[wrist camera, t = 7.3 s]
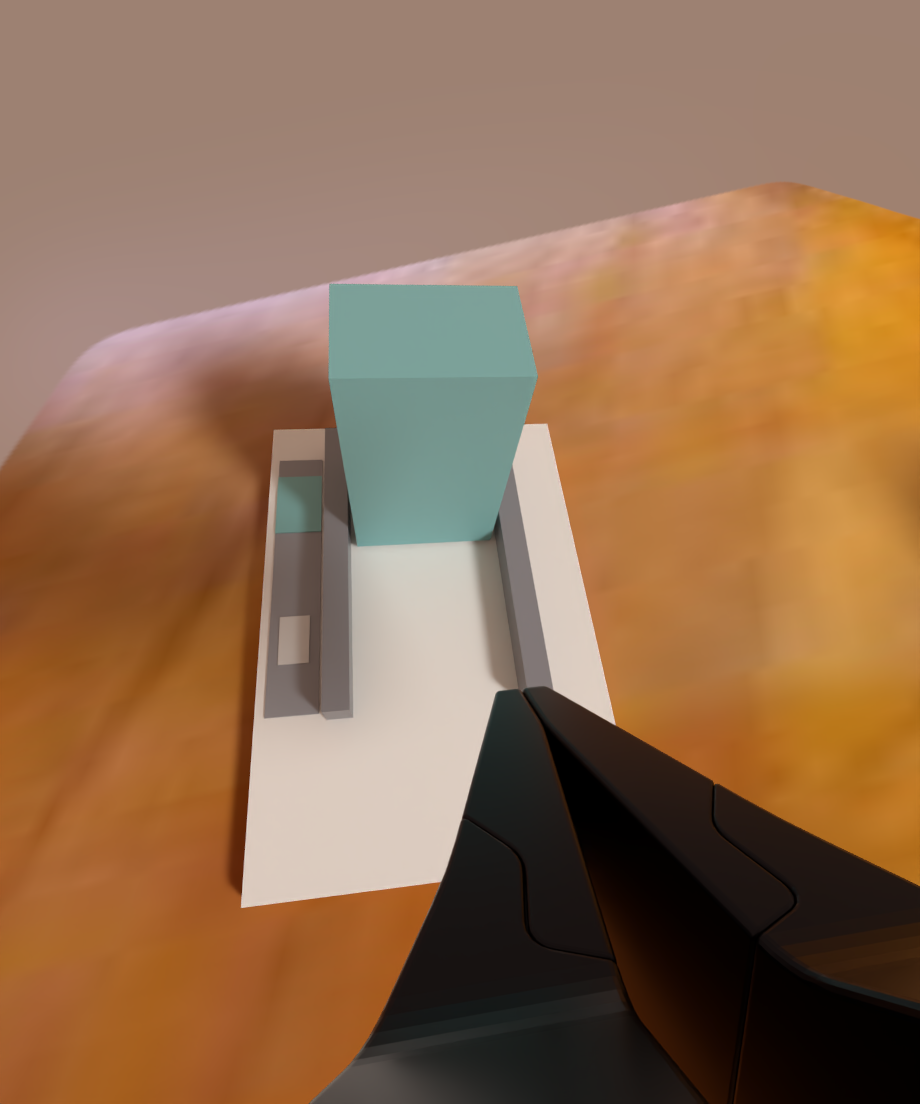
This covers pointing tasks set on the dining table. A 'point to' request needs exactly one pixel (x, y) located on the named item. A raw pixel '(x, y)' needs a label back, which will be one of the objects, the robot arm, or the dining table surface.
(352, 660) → the white rail base plate
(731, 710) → the dining table surface
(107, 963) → the dining table surface
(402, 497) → the switch tab
